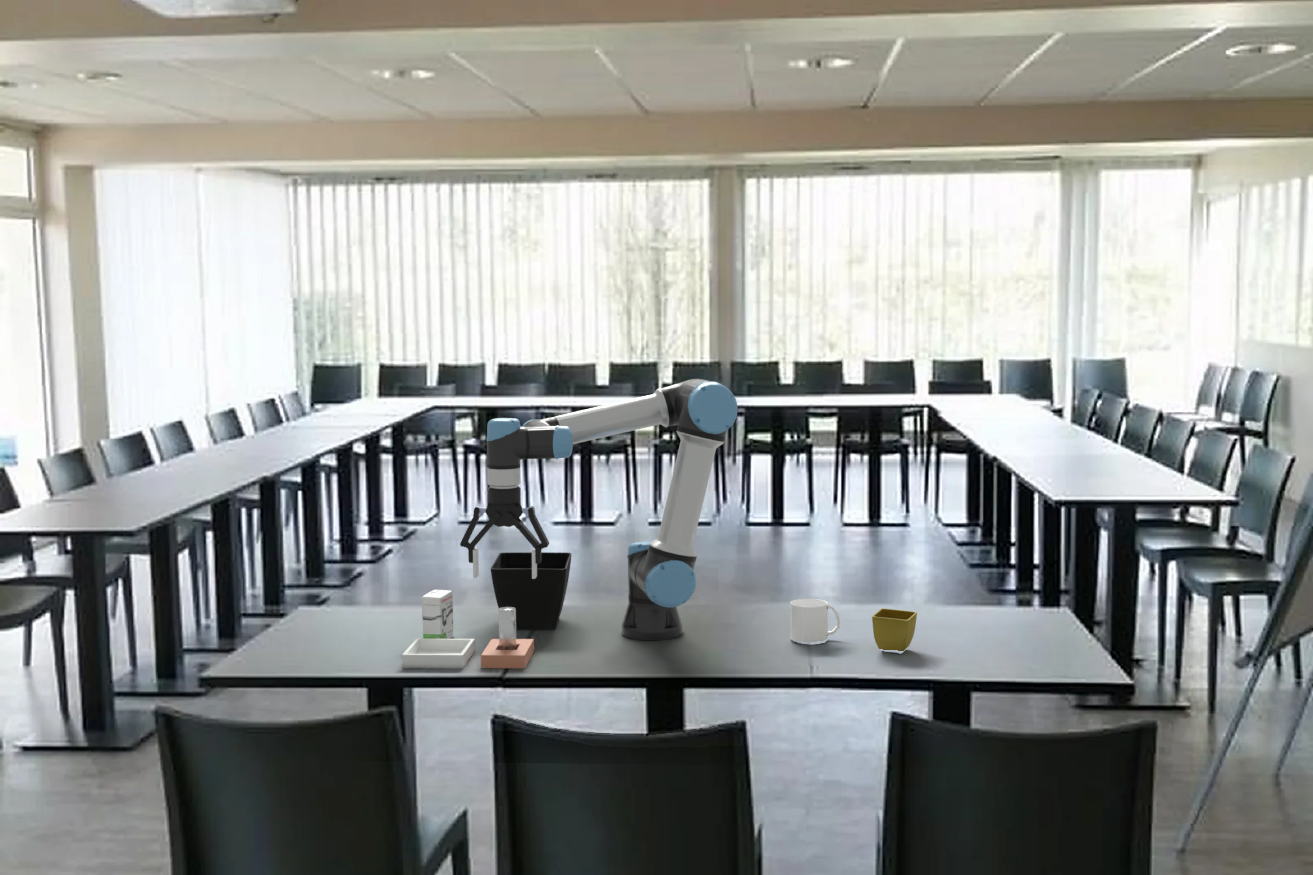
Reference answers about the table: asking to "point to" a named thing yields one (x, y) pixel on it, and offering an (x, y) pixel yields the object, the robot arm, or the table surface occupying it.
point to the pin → (507, 628)
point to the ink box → (437, 614)
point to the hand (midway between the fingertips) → (505, 577)
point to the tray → (438, 653)
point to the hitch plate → (507, 655)
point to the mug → (810, 620)
